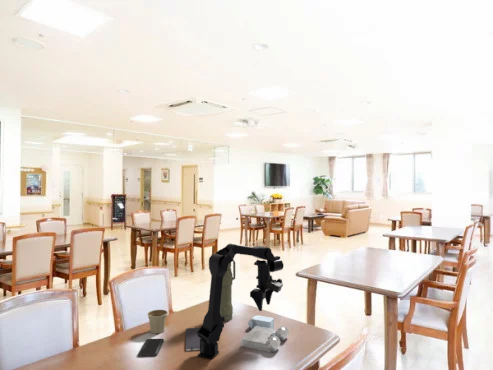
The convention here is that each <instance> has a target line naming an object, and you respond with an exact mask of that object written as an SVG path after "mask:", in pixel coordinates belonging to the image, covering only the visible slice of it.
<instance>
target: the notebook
mask: <svg viewBox="0 0 493 370" xmlns="http://www.w3.org/2000/svg"><path fill="white" fill-rule="evenodd" d="M200 328H201V326H200V327H199V326H198V327H187V328H185V351H186V352H188V351H189V352H190V351H191V352H192V351H200V339H201V338H200V337H198V335H197V332H198V330H199V329H200Z"/></svg>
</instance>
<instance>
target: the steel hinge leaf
mask: <svg viewBox="0 0 493 370" xmlns="http://www.w3.org/2000/svg"><path fill="white" fill-rule="evenodd" d="M289 333H290V332H289V328H288V327H287V326H285V325H280V326H279V327H278V328H274V329H272V328H267V327H261V326H255V327H254V328H253V329H250V331H248V332H247V333H246V334H245V335H244V336H243V337H242V338H241V340H240V343H241V345H240V346H241V347H243V348H248V349H252V350H257V351H262V352H268V353H275V352H276V351H277V350H278V349H279V347H280V346H281V342H283V341H285V340H286V339H287V337H288V336H289Z"/></svg>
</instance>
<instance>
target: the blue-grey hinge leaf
mask: <svg viewBox="0 0 493 370" xmlns="http://www.w3.org/2000/svg"><path fill="white" fill-rule="evenodd" d="M247 322H248V323H247V324H248V325H247V326H248V328H249V329H250V330H252V329H253V328H254V327H255V326H261V327H267V328H272V329H275V318H274V317H270V316H264V315H263V316H262V315H254V316H253V317H252V318H250V319H249V320H248V321H247Z"/></svg>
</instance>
